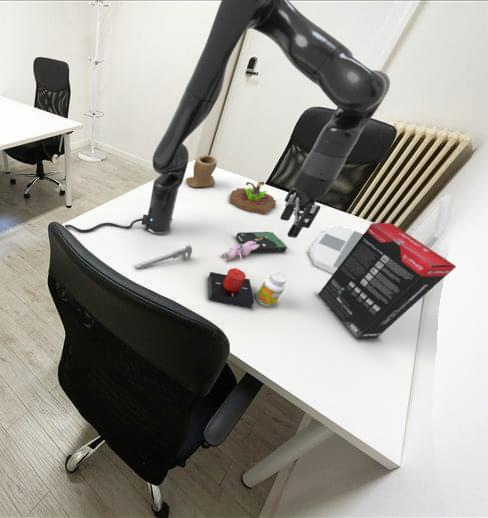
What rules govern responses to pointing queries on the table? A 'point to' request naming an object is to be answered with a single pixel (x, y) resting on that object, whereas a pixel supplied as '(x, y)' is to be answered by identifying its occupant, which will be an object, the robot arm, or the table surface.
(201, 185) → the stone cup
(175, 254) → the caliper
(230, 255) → the pink creature figurine
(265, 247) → the disk drive
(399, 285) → the graphics card box
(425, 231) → the laptop
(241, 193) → the plant
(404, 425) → the table surface
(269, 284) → the supplement bottle
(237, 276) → the knob
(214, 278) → the control panel
